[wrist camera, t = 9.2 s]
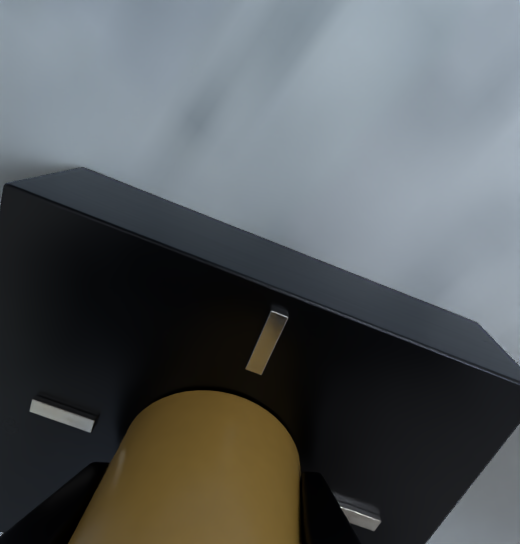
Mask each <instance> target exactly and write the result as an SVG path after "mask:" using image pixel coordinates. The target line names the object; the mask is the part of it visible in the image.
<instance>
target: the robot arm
mask: <svg viewBox="0 0 520 544" xmlns="http://www.w3.org/2000/svg"><path fill="white" fill-rule="evenodd" d="M109 464H110V463H109V462H92V463H90V464H89V465H87V466H86V467H85V468H84V469H83V470H81V471H80V472H79V473H78V474H76V475H75V476H74V477H73V478H71V479H70V480H69V481H68V482H67V483H65V484H64V485H63V486H62V487H60V488H59V489H58V490H57V491H55V492H54V493H53V494H52V495H51V496H49V497H48V498H47V499H46V500H44V501H43V502H42V503H41V504H39V505H38V506H37V507H36V508H34V509H33V510H32V511H31V512H30V513H28V514H27V515H26V516H25V517H23V518H22V519H21V520H20V521H18V522H17V523H16V524H15V525H14V526H12V527H11V528H10V529H9V530H7V531H6V532H5V533H4V534H2V535H1V536H0V544H68V543H69V541H70V539H71V537H72V535H73V533H74V531H75V529H76V527H77V526H78V524H79V522H80V520H81V518H82V516H83V514H84V512H85V510H86V508H87V506H88V504H89V503H90V501H91V499H92V497H93V495H94V493H95V491H96V489H97V487H98V485H99V483H100V481H101V480H102V478H103V476H104V474H105V472H106V470H107V468H108V466H109ZM301 501H302V527H303V544H361V542H360V540H359V539H358V537H357V535H356V533H355V531H354V530H353V528H352V526H351V524H350V523H349V521H348V519H347V517H346V516H345V514H344V512H343V510H342V509H341V507H340V505H339V503H338V502H337V500H336V498H335V496H334V495H333V493H332V491H331V489H330V488H329V486H328V484H327V482H326V481H325V479H324V477H323V476H322V474H321V473H319V472H303V473H302V474H301Z"/></svg>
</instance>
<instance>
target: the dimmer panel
mask: <svg viewBox="0 0 520 544" xmlns="http://www.w3.org/2000/svg"><path fill="white" fill-rule="evenodd" d="M195 390H211V391H219V392H225V393H229V394H233V395H237V396H239V397H242V398H245V399H247V400H249V401H251V402H254V403H256V404H258V405H259V406H261V407H262V408H264V409H265V410H267V411H268V412H270V413H271V414H272V415H273V416H274V417H276V418H277V419H278V420H279V421H280V423H281V424H282V425H283V426H284V427H285V428H286V430H287V431H288V433H289V434H290V435H291V437H292V439H293V441H294V443H295V445H296V448H297V451H298V454H299V460H300V472H301V474H302V473H303V472H319V473H321V474H322V476H323V477H324V479H325V481H326V482H327V484H328V486H329V488H330V489H331V491H332V493H333V495H334V496H335V498H336V500H337V502H338V503H339V505H340V507H341V509H342V510H343V512H344V514H345V516H346V517H347V519H348V521H349V523H350V524H351V526H352V528H353V530H354V531H355V533H356V535H357V537H358V539H359V540H360V542H361V544H426V542H427V541H428V540H429V539H430V537H431V536H432V535H433V534H434V532H435V531H436V530H437V528H438V527H439V526H440V525H441V523H442V522H443V521H444V519H445V518H446V517H447V516H448V514H449V513H450V512H451V511H452V509H453V508H454V507H455V505H456V504H457V503H458V502H459V500H460V499H461V498H462V496H463V495H464V494H465V493H466V491H467V490H468V489H469V488H470V486H471V485H472V484H473V482H474V481H475V480H476V479H477V477H478V476H479V475H480V473H481V472H482V471H483V470H484V468H485V467H486V466H487V465H488V463H489V462H490V461H491V459H492V458H493V457H494V456H495V454H496V453H497V452H498V450H499V449H500V448H501V447H502V445H503V444H504V443H505V442H506V440H507V439H508V438H509V436H510V435H511V434H512V433H513V431H514V430H515V429H516V427H517V426H518V425H519V424H520V366H519V365H518V364H517V363H516V362H515V361H514V360H513V359H512V358H511V357H510V356H509V355H508V354H507V353H506V352H505V351H504V350H503V349H502V348H501V347H500V346H499V345H498V343H497V342H496V341H495V340H494V339H493V338H492V337H491V336H490V335H489V334H488V333H487V332H486V331H485V330H484V329H483V328H482V327H481V326H480V325H479V324H478V323H477V322H474V321H472V320H469V319H467V318H464V317H462V316H459V315H457V314H454V313H452V312H449V311H446V310H444V309H441V308H439V307H436V306H434V305H431V304H429V303H426V302H424V301H421V300H419V299H416V298H413V297H411V296H408V295H406V294H403V293H401V292H398V291H396V290H393V289H391V288H388V287H386V286H383V285H381V284H378V283H375V282H373V281H370V280H368V279H365V278H363V277H360V276H358V275H355V274H353V273H350V272H348V271H345V270H343V269H340V268H337V267H335V266H332V265H330V264H327V263H325V262H322V261H320V260H317V259H315V258H312V257H310V256H307V255H304V254H302V253H299V252H297V251H294V250H292V249H289V248H287V247H284V246H282V245H279V244H277V243H274V242H272V241H269V240H266V239H264V238H261V237H259V236H256V235H254V234H251V233H249V232H246V231H244V230H241V229H239V228H236V227H234V226H231V225H228V224H226V223H223V222H221V221H218V220H216V219H213V218H211V217H208V216H206V215H203V214H201V213H198V212H196V211H193V210H190V209H188V208H185V207H183V206H180V205H178V204H175V203H173V202H170V201H168V200H165V199H163V198H160V197H157V196H155V195H152V194H150V193H147V192H145V191H142V190H140V189H137V188H135V187H132V186H130V185H127V184H125V183H122V182H119V181H117V180H114V179H112V178H109V177H107V176H104V175H102V174H99V173H97V172H94V171H92V170H89V169H87V168H84V167H81V168H76V169H71V170H66V171H61V172H57V173H52V174H47V175H42V176H38V177H33V178H28V179H23V180H18V181H14V182H9V183H5V185H4V187H3V193H2V200H1V206H0V532H3V533H5V532H6V531H7V530H9V529H10V528H11V527H12V526H14V525H15V524H16V523H17V522H18V521H20V520H21V519H22V518H23V517H25V516H26V515H27V514H28V513H30V512H31V511H32V510H33V509H34V508H36V507H37V506H38V505H39V504H41V503H42V502H43V501H44V500H46V499H47V498H48V497H49V496H51V495H52V494H53V493H54V492H55V491H57V490H58V489H59V488H60V487H62V486H63V485H64V484H65V483H67V482H68V481H69V480H70V479H71V478H73V477H74V476H75V475H76V474H78V473H79V472H80V471H81V470H83V469H84V468H85V467H86V466H87V465H89V464H90V463H92V462H109V463H110V462H111V460H112V458H113V457H114V455H115V453H116V451H117V449H118V447H119V445H120V443H121V441H122V439H123V437H124V435H125V434H126V432H127V430H128V428H129V426H130V424H131V423H132V422H133V420H134V419H135V418H136V416H137V415H138V414H139V413H140V412H142V411H143V410H144V409H145V408H146V407H148V406H149V405H151V404H152V403H154V402H156V401H158V400H160V399H162V398H164V397H167V396H170V395H172V394H176V393H180V392H185V391H195Z"/></svg>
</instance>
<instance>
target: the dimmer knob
mask: <svg viewBox="0 0 520 544" xmlns="http://www.w3.org/2000/svg"><path fill="white" fill-rule="evenodd" d="M68 544H303V527H302V501H301V472H300V460H299V454H298V451H297V448H296V445H295V443H294V441H293V439H292V437H291V435H290V434H289V433H288V431H287V430H286V428H285V427H284V426H283V425H282V424H281V423H280V421H279V420H278V419H277V418H276V417H274V416H273V415H272V414H271V413H270V412H268V411H267V410H265V409H264V408H262V407H261V406H259V405H258V404H256V403H254V402H251V401H249V400H247V399H245V398H242V397H239V396H237V395H233V394H229V393H225V392H219V391H211V390H195V391H185V392H180V393H176V394H172V395H170V396H167V397H164V398H162V399H160V400H158V401H156V402H154V403H152V404H151V405H149V406H148V407H146V408H145V409H144V410H143V411H142V412H140V413H139V414H138V415H137V416H136V418H135V419H134V420H133V422H132V423H131V424H130V426H129V428H128V430H127V432H126V434H125V435H124V437H123V439H122V441H121V443H120V445H119V447H118V449H117V451H116V453H115V455H114V457H113V458H112V460H111V462H110V464H109V466H108V468H107V470H106V472H105V474H104V476H103V478H102V480H101V481H100V483H99V485H98V487H97V489H96V491H95V493H94V495H93V497H92V499H91V501H90V503H89V504H88V506H87V508H86V510H85V512H84V514H83V516H82V518H81V520H80V522H79V524H78V526H77V527H76V529H75V531H74V533H73V535H72V537H71V539H70V541H69V543H68Z"/></svg>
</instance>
